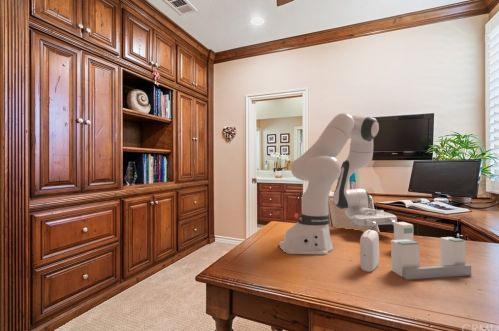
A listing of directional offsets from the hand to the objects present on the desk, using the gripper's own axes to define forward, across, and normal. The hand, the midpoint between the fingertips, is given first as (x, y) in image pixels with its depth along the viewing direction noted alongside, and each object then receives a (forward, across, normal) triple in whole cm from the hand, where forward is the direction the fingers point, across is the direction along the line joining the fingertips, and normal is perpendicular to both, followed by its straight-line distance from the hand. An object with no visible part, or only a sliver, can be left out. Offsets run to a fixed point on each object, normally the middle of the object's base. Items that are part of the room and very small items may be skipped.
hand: (384, 223), depth 111 cm
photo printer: (+24, -22, +8) cm, 34 cm away
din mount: (+32, -6, +8) cm, 33 cm away
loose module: (+12, 0, +8) cm, 15 cm away
